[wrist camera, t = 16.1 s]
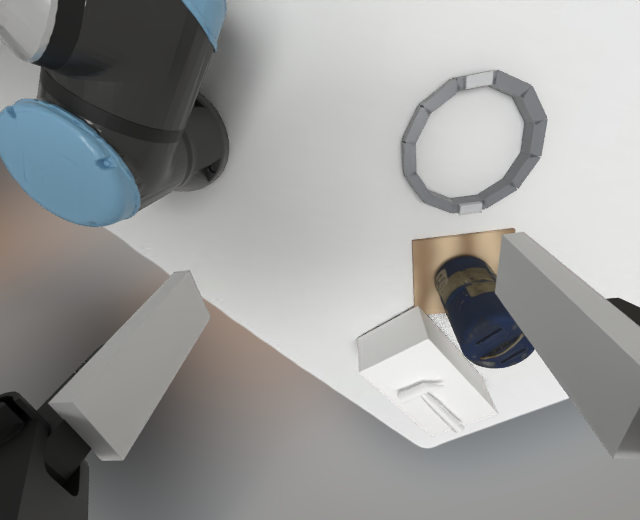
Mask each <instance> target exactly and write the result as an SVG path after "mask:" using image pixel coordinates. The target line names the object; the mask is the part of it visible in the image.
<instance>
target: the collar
mask: <svg viewBox="0 0 640 520" xmlns="http://www.w3.org/2000/svg"><path fill="white" fill-rule="evenodd" d="M483 86H489V87H491V88H494V89H496V90H498V91H500V92H503V93H505V94H507V95H509V96H512V97H513V99H514V101H515V103H516V106H517V108H518V110H519V112H520V114H521V116H522V118H523V120H524V122H525V124H524V131H523V139H522V146H521V153H520V154H519V156H518V157H517V159H516V160H515V161H514V163H513V164H512V166H511V167H510V169H509V170H508V172H507V173H506V175H505V176H504V178H503V179H501V180H500V181H498V182H497V183H495V184H494V185H492V186H490V187H489V188H487V189H486V190H484V191H482V192H481V193H479V194H478V195H472V196H465V197H458V198H447V197H445V196H442V195H440V194H437V193H435V192H432V191H430V190H428V189H427V188H426V186H425V185H424V183H423V182H422V181H421V179H420V178H419V176H418V175H417V173H416V142H417V140H418V138H419V136H420V134H421V132H422V130H423V128H424V126H425V124H426V122H427V120H428V118H429V116H430V114H431V113H432V112H433V111H435V110H436V109H437V108H438V107H440V106H441V105H442V104H443V103H445V102H446V101H447V100H448V99H450V98H451V97H452V96H454V95H455V94H456V93H457V92H459V91H462V90H467V89H472V88H478V87H483ZM419 105H420V106H418V107H417V109H416V111H415V113H414V115H413V117H412V119H411V121H410V123H409V126H408V128H407V130H406V132H405V134H404V136H403V138H402V140H403V141H402V159H403V173H404V175H405V177H406V178H407V180H408V181H409V183H410V184H411V185H412V187H413V188H414V190H415V191H416V193H417V194H418V195H419V197H420V198H421V200H422V201H423V202H424V203H426V204H429V205H431V206H434V207H437V208H439V209H442V210H444V211H447V212H449V213H459V214H460V215H464V214H472V213H480V212H482V210H483V209H485V208H488V207H490V206H491V205H493V204H495V203H496V202H498V201H500V200H501V199H503V198H505V197H506V196H508V195H509V194H511V193H513V192H514V191H516V190H517V189H516V188H519V187H520V186H521V184H522V183H523V182H524V180H525V179H526V177H527V176H528V175H529V173H530V172H531V170H532V169H533V168H534V166H535V165H536V163H537V162H538V161H539V159H540V157H538V156H541V155H542V149H543V143H544V137H545V131H546V125H547V120H548V119H546V118H547V116H546V114H545V112H544V109H543V107H542V105H541V103H540V101H539V99H538V97H537V94H536V92H535V90H534V88H533V86H531V85H530V84H528V83H526V82H524V81H522V80H519V79H517V78H515V77H513V76H510V75H508V74H506V73H504V72H502V71H499V70H494V71H487V72H482V73H477V74H472V75H467V76H462V77H457V78H452V79H450V80H448V81H447V82H446V83H445V84H443V85H442V86H441V87H440V88H439V89H437V90H436V91H435V92H434V93H432V94H431V95H430V96H429V97H427V98H426V99H425V100H424V101H423V102H421V103H420V104H419Z"/></svg>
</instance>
